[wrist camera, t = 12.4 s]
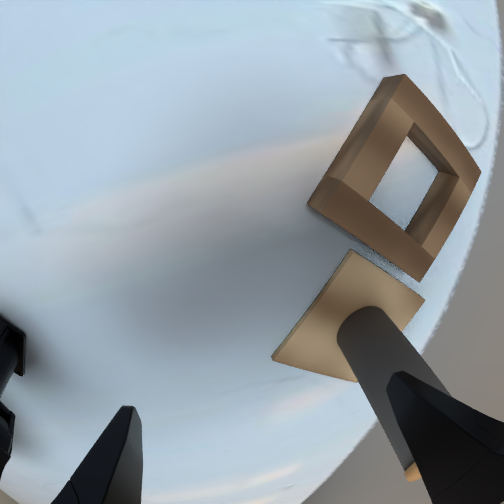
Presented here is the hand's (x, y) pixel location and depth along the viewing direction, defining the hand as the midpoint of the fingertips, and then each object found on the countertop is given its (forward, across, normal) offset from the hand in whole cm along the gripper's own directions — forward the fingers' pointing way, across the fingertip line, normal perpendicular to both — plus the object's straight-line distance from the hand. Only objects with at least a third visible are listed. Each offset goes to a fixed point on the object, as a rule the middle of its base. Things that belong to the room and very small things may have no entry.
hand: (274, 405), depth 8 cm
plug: (+11, -11, +7) cm, 18 cm away
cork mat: (+12, -11, +7) cm, 18 cm away
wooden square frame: (+12, -12, -6) cm, 18 cm away
